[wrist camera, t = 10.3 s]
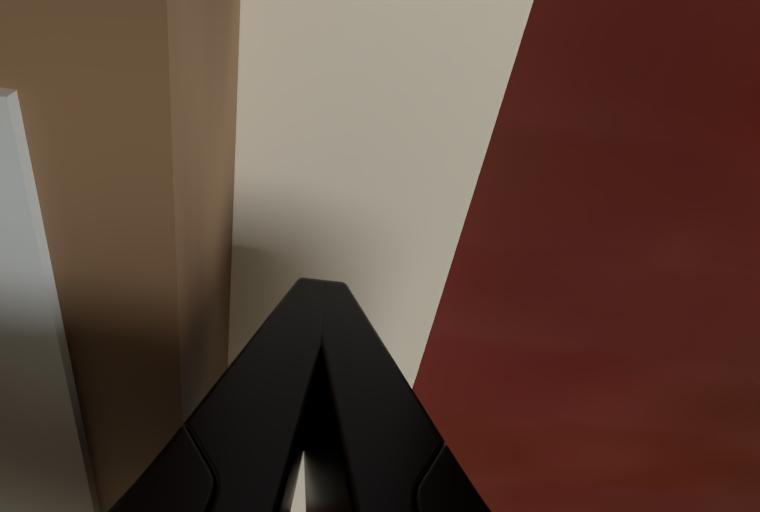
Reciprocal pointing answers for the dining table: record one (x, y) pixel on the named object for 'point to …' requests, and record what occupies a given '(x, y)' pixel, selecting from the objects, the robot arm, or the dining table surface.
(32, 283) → the frame
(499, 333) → the dining table surface
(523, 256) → the dining table surface
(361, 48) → the wall board
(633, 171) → the dining table surface
